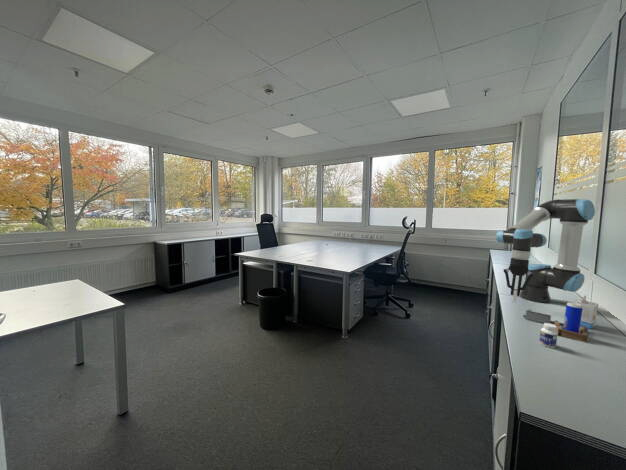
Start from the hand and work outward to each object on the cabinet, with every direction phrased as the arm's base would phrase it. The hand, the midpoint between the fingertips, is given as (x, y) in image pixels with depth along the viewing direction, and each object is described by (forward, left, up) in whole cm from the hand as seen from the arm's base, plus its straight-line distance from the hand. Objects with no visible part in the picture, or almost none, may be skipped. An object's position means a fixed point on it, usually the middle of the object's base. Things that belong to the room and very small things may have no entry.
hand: (514, 301), depth 138 cm
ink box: (-11, +30, -8) cm, 33 cm away
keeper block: (+6, +16, -8) cm, 19 cm away
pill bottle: (+29, +12, -8) cm, 33 cm away
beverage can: (+10, +21, -8) cm, 25 cm away
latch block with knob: (0, +10, -8) cm, 13 cm away
